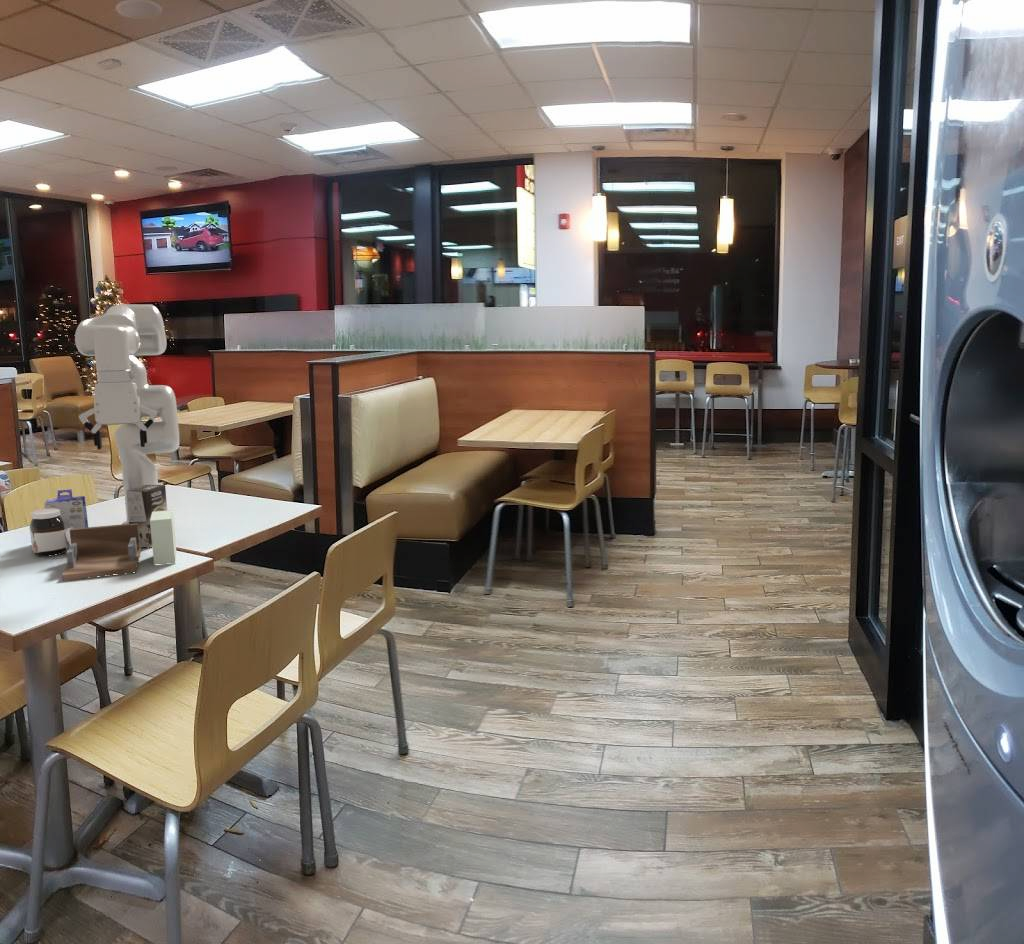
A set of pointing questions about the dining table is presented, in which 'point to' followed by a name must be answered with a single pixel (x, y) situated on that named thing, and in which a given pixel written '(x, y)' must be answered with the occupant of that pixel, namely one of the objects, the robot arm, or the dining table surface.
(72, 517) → the ink cartridge box
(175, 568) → the dining table surface
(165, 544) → the pale green box
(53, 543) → the spread jar
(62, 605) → the dining table surface
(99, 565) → the shelf
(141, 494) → the coffee box
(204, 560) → the dining table surface
